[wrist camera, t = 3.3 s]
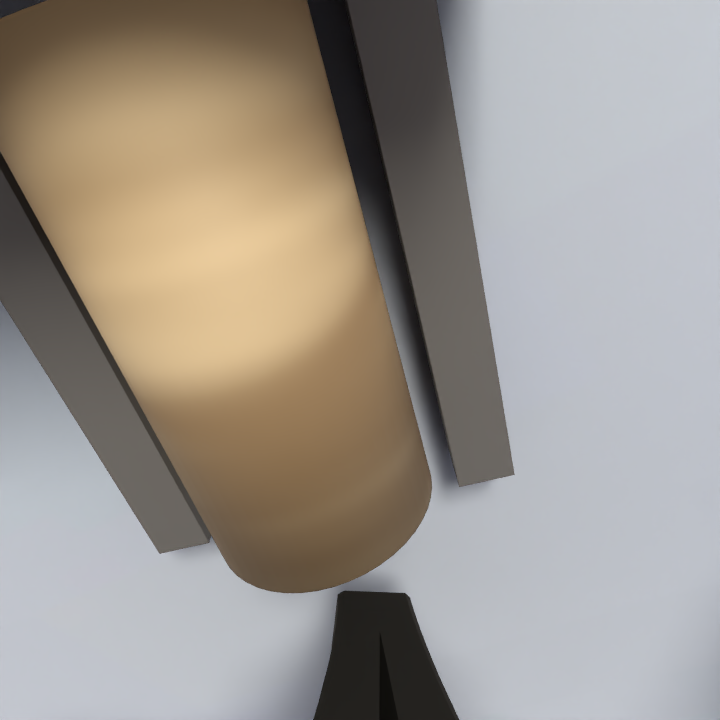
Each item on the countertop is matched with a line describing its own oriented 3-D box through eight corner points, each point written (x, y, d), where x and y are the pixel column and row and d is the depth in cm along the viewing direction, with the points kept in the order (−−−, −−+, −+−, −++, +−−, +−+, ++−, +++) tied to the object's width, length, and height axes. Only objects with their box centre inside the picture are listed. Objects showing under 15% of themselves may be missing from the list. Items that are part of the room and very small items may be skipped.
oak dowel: (406, 409, 11) (460, 549, 7) (229, 462, 11) (206, 624, 7) (293, -10, 7) (303, -79, 4) (38, 67, 7) (-146, 58, 4)
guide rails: (499, 440, 11) (514, 474, 10) (173, 515, 11) (159, 553, 10) (407, -91, 7) (417, -115, 6) (-86, 69, 7) (-144, 70, 6)
